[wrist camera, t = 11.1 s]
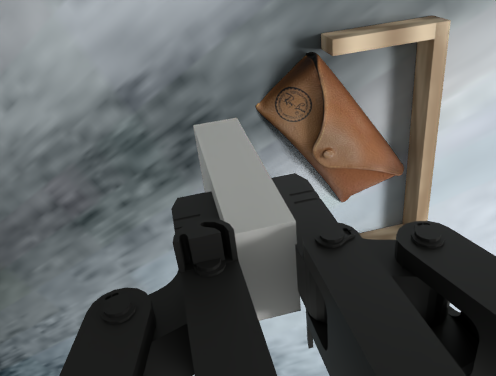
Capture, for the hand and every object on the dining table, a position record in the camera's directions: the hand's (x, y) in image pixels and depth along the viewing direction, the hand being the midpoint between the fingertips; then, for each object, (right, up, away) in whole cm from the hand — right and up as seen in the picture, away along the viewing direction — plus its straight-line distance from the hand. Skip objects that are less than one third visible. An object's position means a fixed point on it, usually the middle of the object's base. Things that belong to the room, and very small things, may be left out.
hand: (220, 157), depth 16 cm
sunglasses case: (+10, +5, +35) cm, 37 cm away
